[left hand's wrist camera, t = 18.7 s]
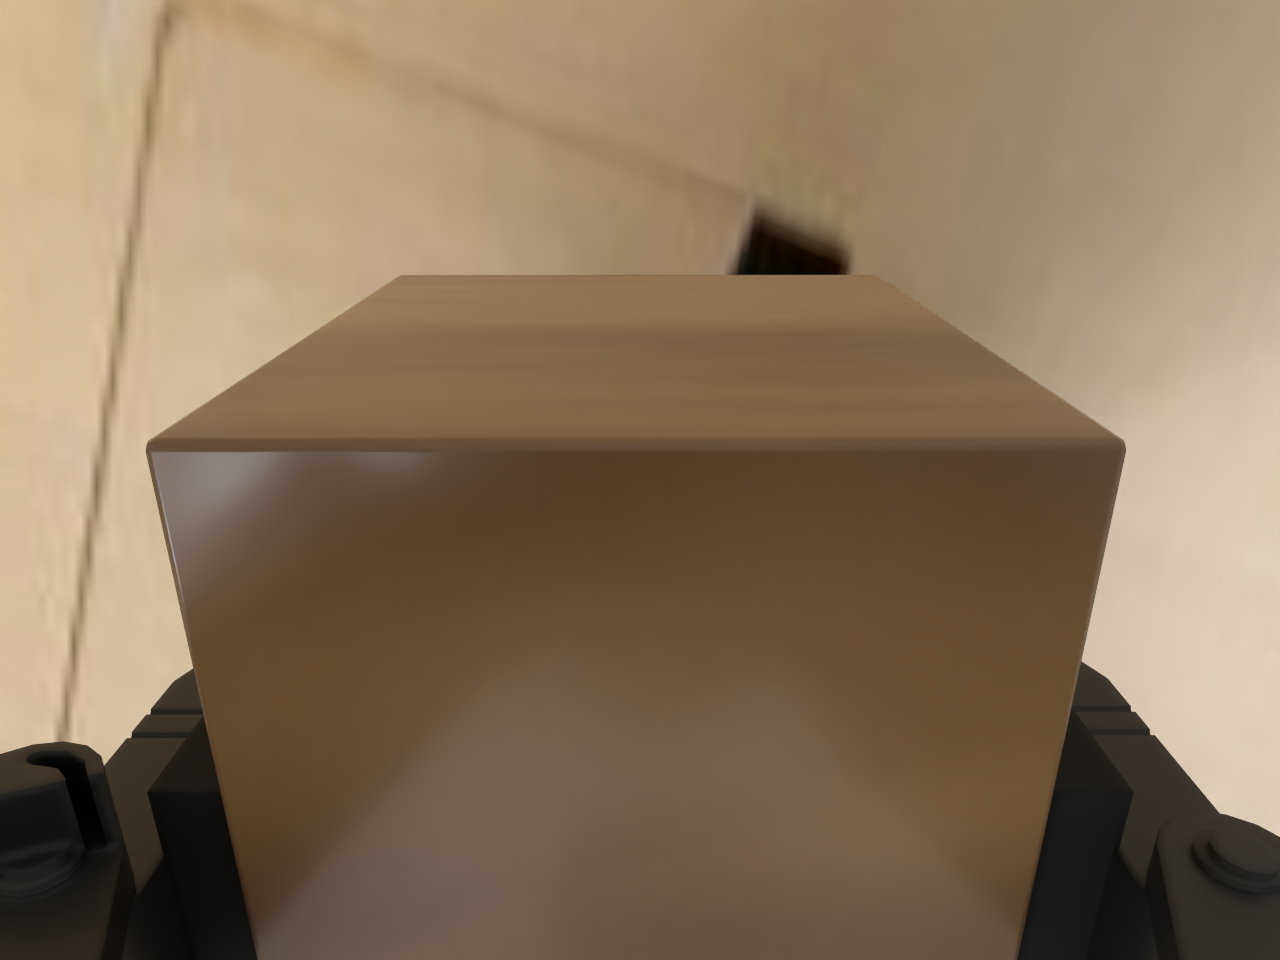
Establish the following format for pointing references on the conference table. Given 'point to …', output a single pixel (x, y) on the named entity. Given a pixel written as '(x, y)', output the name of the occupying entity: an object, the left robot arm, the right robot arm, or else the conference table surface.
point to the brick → (636, 621)
